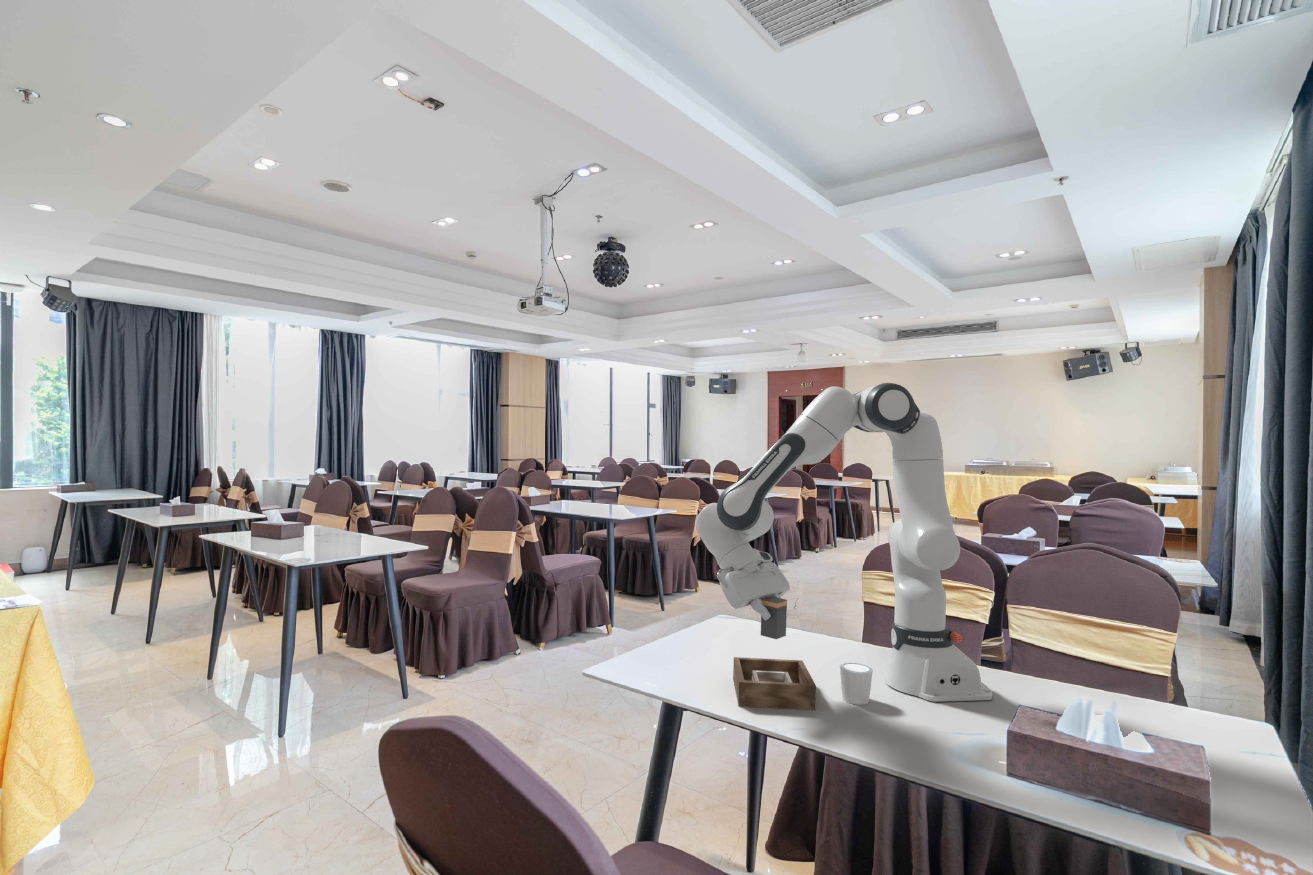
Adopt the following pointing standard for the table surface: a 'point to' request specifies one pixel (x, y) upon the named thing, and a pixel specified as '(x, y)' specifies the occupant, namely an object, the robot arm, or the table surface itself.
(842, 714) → the table surface
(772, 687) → the walnut box
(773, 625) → the dark grey banded block
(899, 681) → the robot arm
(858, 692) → the white cup
